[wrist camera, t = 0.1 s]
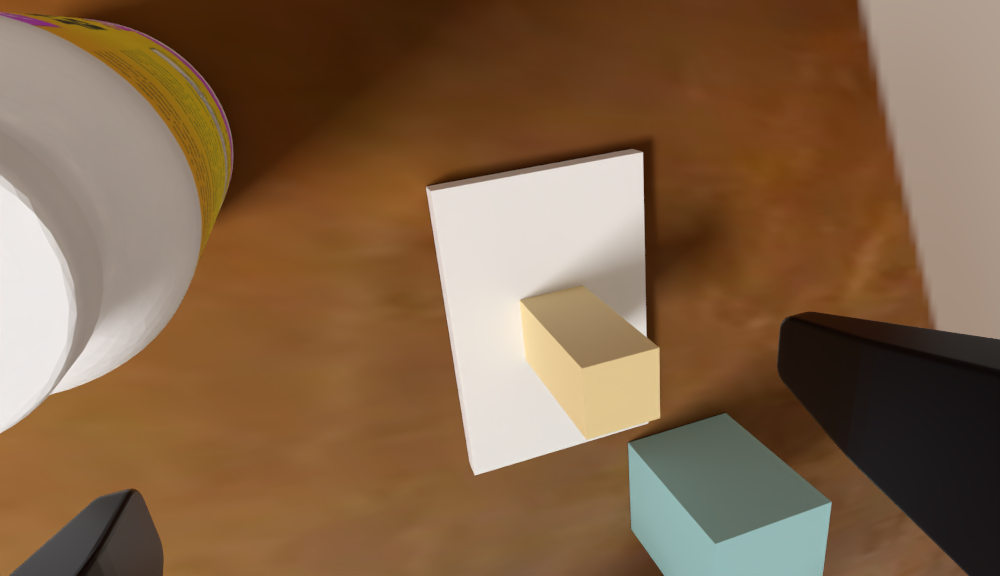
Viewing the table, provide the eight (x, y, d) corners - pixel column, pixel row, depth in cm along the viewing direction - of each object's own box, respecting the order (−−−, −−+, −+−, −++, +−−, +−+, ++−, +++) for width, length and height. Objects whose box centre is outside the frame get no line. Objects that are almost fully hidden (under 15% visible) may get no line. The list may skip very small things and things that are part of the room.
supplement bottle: (164, -15, 18) (-45, -111, 6) (273, 199, 21) (262, 395, 9) (-85, 69, 17) (-853, 131, 5) (66, 282, 20) (-229, 615, 8)
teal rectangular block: (722, 498, 32) (819, 598, 27) (631, 529, 31) (711, 642, 25) (725, 412, 30) (831, 501, 25) (628, 442, 29) (715, 544, 23)
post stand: (639, 414, 29) (727, 506, 23) (469, 463, 27) (520, 577, 21) (632, 148, 24) (740, 182, 18) (426, 186, 22) (475, 237, 16)
